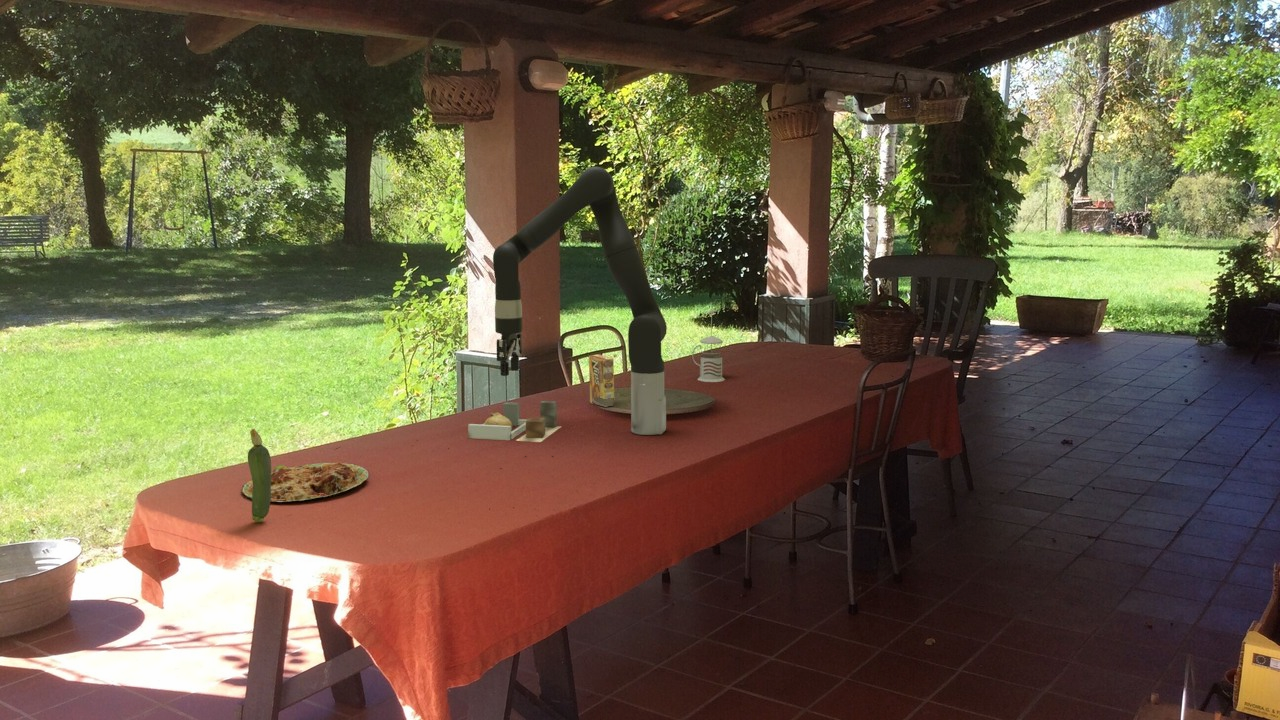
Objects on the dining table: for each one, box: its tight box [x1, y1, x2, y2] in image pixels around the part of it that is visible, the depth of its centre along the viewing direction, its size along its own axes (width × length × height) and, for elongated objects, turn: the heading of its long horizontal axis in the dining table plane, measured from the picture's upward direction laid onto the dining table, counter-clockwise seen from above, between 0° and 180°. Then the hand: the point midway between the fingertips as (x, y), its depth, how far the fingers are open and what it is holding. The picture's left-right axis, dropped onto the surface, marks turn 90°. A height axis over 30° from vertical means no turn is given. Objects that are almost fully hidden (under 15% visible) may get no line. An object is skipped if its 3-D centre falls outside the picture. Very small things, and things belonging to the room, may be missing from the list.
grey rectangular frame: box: [467, 401, 527, 441], centre depth 281 cm, size 12×19×7 cm, turn 167°
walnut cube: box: [525, 417, 545, 438], centre depth 275 cm, size 4×4×4 cm
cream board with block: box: [515, 400, 562, 443], centre depth 278 cm, size 7×19×8 cm, turn 167°
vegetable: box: [247, 428, 272, 523], centre depth 207 cm, size 4×4×20 cm
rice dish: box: [241, 461, 370, 503], centre depth 234 cm, size 28×28×5 cm
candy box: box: [588, 354, 615, 404], centre depth 319 cm, size 9×4×15 cm, turn 33°
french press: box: [691, 309, 726, 383], centre depth 360 cm, size 10×12×25 cm
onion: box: [483, 412, 514, 431], centre depth 278 cm, size 8×8×7 cm
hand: (510, 372), depth 286 cm, fingers open, 8 cm apart
